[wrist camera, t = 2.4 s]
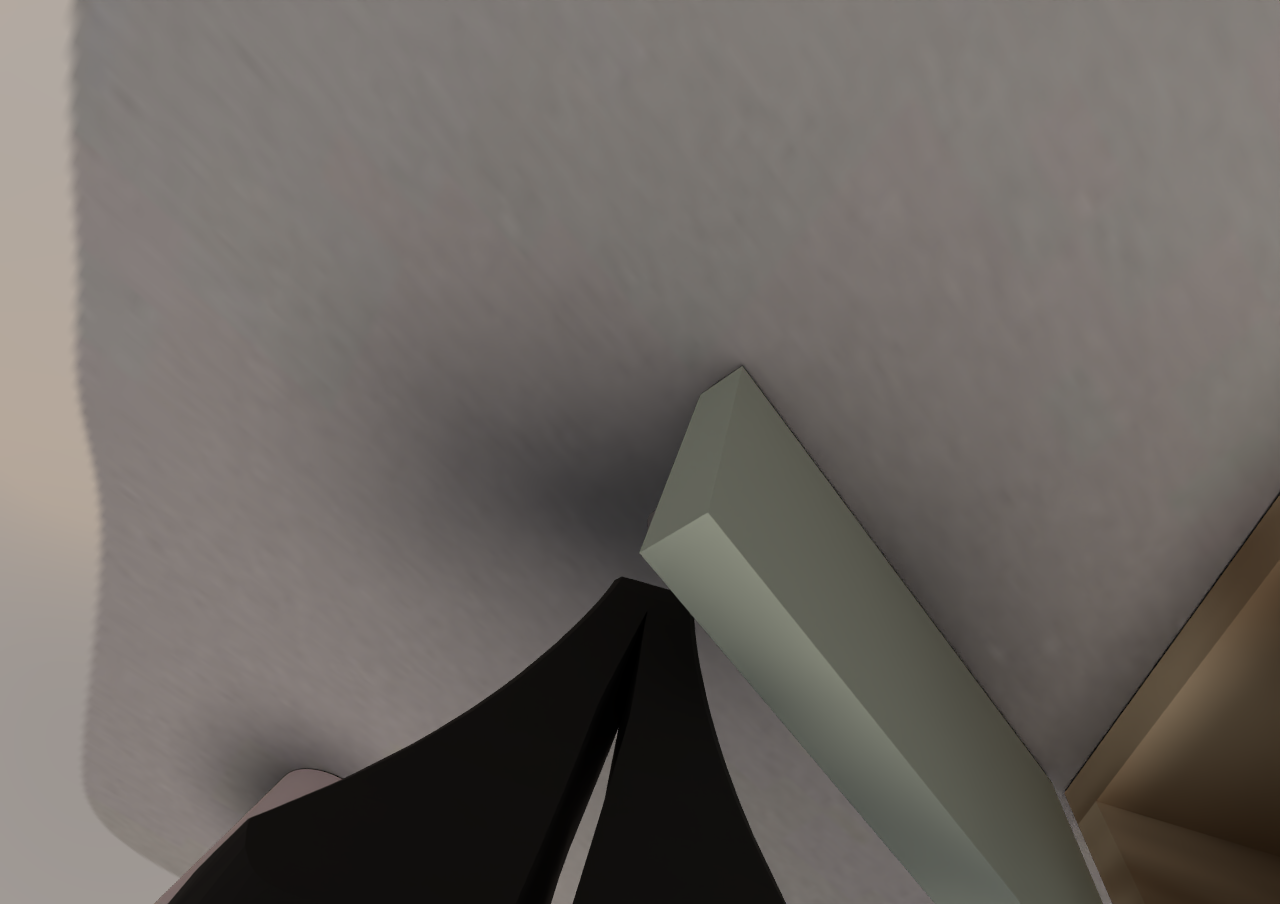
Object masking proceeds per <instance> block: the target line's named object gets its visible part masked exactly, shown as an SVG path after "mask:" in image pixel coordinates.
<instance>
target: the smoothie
mask: <svg viewBox="0 0 1280 904" xmlns="http://www.w3.org/2000/svg"><path fill="white" fill-rule="evenodd" d="M339 780H341V778H339V777H336V776H334V775H332V774H329V773H326V772H323V771H319V770H312V769H300V770H295V771H292V772H290V773H288V774H287V775H286V776H285V777H283V778H282V779H281V780H280V781H279V782H278V783H277V784H276V785H275V786H274V787H273V788H272V789H271V790H270V791H269V792H268V793H267V794H266V795H265V796H264V797H263V798H262V799H261V800H260V801H259V802H258V803H257V804H256V805H255V806H254V807H253V808H252V809H251V810H250V811H249V812H248V813H247V814H246V815H244V816H243V817H242V818H241V819H240V820H239V821H238V822H237V823H236V824H235V825H234V826H233V827H232V828H231V829H230V830H229V831H228V832H227V833H226V834H225V835H224V836H223V837H222V838H221V839H220V840H219V841H218V842H217V843H216V844H215V845H214V846H213V847H212V848H211V849H210V850H209V851H208V852H207V853H206V854H204V855H203V856H202V857H201V858H200V859H199V860H198V861H197V862H196V863H195V864H194V865H193V866H192V867H191V868H190V869H189V870H188V871H187V872H186V873H185V874H184V875H183V876H182V877H181V878H180V879H179V880H178V881H177V882H176V883H175V884H174V885H173V886H172V887H171V888H170V889H169V890H168V891H167V892H166V893H164V894H163V895H162V896H161V897H160V898H159V899H158V901H156V902H155V903H154V904H168V903H169V902H170V900H171V899H172V898H173V897H174V896H175V894H176V893H177V892H178V891H179V890H180V889H181V887H182V886H183V885H184V884H185V883H186V881H187V880H188V879H189V878H190V877H191V875H192V874H193V873H194V872H195V871H196V870H197V869H198V868H199V867H200V866H201V865H202V864H203V863H204V862H205V861H206V860H207V859H208V858H209V857H210V856H211V855H212V854H213V853H214V852H215V851H216V850H217V849H218V848H219V847H220V846H221V845H222V844H223V843H224V842H225V841H226V840H227V839H228V838H229V837H230V836H231V835H232V834H233V833H234V832H235V831H236V830H237V829H238V828H239V827H240V826H241V825H242V824H243V823H244V822H245V821H246V820H247V819H248V818H250V817H253V816H256V815H258V814H261V813H263V812H266V811H268V810H271V809H273V808H275V807H278V806H280V805H283V804H285V803H287V802H290V801H292V800H295V799H297V798H299V797H302V796H304V795H307V794H309V793H311V792H314V791H316V790H319V789H321V788H323V787H326V786H328V785H330V784H333V783H335V782H337V781H339Z"/></svg>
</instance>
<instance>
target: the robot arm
mask: <svg viewBox="0 0 1280 904" xmlns="http://www.w3.org/2000/svg"><path fill="white" fill-rule="evenodd" d="M618 728H619V729H618ZM617 730H618V734H617V739H616V744H615V749H614V754H613V759H612V764H611V770H610V775H609V780H608V785H607V790H606V795H605V800H604V804H603V807H602V810H601V814H600V817H599V820H598V823H597V827H596V830H595V833H594V836H593V840H592V843H591V846H590V849H589V853H588V856H587V859H586V862H585V866H584V869H583V872H582V875H581V879H580V882H579V885H578V888H577V891H576V895H575V898H574V901H573V904H786V902H785V900H784V898H783V896H782V894H781V892H780V890H779V888H778V886H777V884H776V881H775V879H774V877H773V875H772V873H771V871H770V869H769V867H768V865H767V863H766V861H765V858H764V856H763V854H762V852H761V850H760V848H759V846H758V844H757V842H756V840H755V837H754V835H753V833H752V831H751V828H750V826H749V823H748V821H747V818H746V816H745V814H744V811H743V809H742V806H741V804H740V801H739V799H738V796H737V794H736V791H735V788H734V786H733V783H732V780H731V777H730V775H729V772H728V769H727V766H726V763H725V760H724V757H723V754H722V751H721V748H720V745H719V742H718V738H717V735H716V731H715V728H714V724H713V721H712V717H711V713H710V709H709V705H708V701H707V697H706V693H705V688H704V683H703V678H702V674H701V669H700V664H699V658H698V651H697V644H696V636H695V623H694V617H693V616H692V615H691V614H690V612H689V611H688V610H687V609H686V608H685V606H684V605H683V604H682V603H681V602H680V601H679V599H678V598H677V597H676V596H675V595H674V593H673V592H672V591H671V590H667V589H664V588H660V587H657V586H653V585H650V584H647V583H643V582H640V581H636V580H633V579H629V578H626V577H621V578H618V579H616V580H615V581H614V582H613V584H612V585H611V586H610V588H609V589H608V590H607V591H606V593H605V594H604V595H603V596H602V597H601V599H600V600H599V601H598V602H597V603H596V604H595V605H594V606H593V607H592V609H591V610H590V611H589V612H588V613H587V614H586V615H585V616H584V617H583V618H582V619H581V620H580V621H579V622H578V623H577V624H576V625H575V626H574V627H573V628H572V629H571V630H569V631H568V632H567V633H566V634H565V635H564V636H563V637H562V638H561V639H560V640H559V641H558V642H557V643H556V644H555V645H553V646H552V647H551V648H550V649H549V650H548V651H546V652H545V653H544V654H543V655H542V656H540V657H539V658H538V659H537V660H536V661H534V662H533V663H532V664H531V665H530V666H528V667H527V668H526V669H525V670H524V671H522V672H521V673H520V674H519V675H517V676H516V677H515V678H513V679H512V680H511V681H509V682H508V683H507V684H505V685H504V686H503V687H501V688H500V689H499V690H497V691H496V692H494V693H493V694H492V695H490V696H489V697H487V698H486V699H484V700H483V701H481V702H480V703H479V704H477V705H476V706H474V707H473V708H471V709H470V710H468V711H466V712H465V713H463V714H462V715H460V716H458V717H457V718H455V719H454V720H452V721H450V722H449V723H447V724H445V725H444V726H442V727H441V728H439V729H437V730H436V731H434V732H432V733H431V734H429V735H427V736H425V737H424V738H422V739H420V740H418V741H417V742H415V743H413V744H411V745H409V746H408V747H406V748H404V749H402V750H400V751H398V752H396V753H394V754H392V755H390V756H388V757H386V758H384V759H382V760H380V761H378V762H376V763H374V764H372V765H370V766H368V767H366V768H364V769H362V770H360V771H358V772H356V773H354V774H352V775H350V776H348V777H346V778H344V779H341V780H339V781H337V782H335V783H333V784H330V785H328V786H326V787H323V788H321V789H319V790H316V791H314V792H311V793H309V794H307V795H304V796H302V797H299V798H297V799H295V800H292V801H290V802H287V803H285V804H283V805H280V806H278V807H275V808H273V809H271V810H268V811H266V812H263V813H261V814H258V815H256V816H253V817H250V818H248V819H247V820H246V821H245V822H244V823H243V824H242V825H241V826H240V827H239V828H238V829H237V830H236V831H235V832H234V833H233V834H232V835H231V836H230V837H229V838H228V839H227V840H226V841H225V842H224V843H223V844H222V845H221V846H220V847H219V848H218V849H217V850H216V851H215V852H214V853H213V854H212V855H211V856H210V857H209V858H208V859H207V860H206V861H205V862H204V863H203V864H202V865H201V866H200V867H199V868H198V869H197V870H196V871H195V872H194V873H193V874H192V875H191V877H190V878H189V879H188V880H187V881H186V883H185V884H184V885H183V886H182V887H181V889H180V890H179V891H178V892H177V893H176V894H175V896H174V897H173V898H172V899H171V900H170V902H169V903H168V904H551V902H552V898H553V895H554V892H555V889H556V886H557V882H558V879H559V876H560V873H561V871H562V868H563V865H564V862H565V860H566V857H567V854H568V851H569V849H570V846H571V844H572V841H573V839H574V836H575V834H576V831H577V829H578V826H579V824H580V821H581V819H582V816H583V814H584V812H585V809H586V807H587V804H588V802H589V799H590V797H591V794H592V792H593V789H594V787H595V785H596V782H597V780H598V777H599V775H600V772H601V770H602V767H603V765H604V762H605V760H606V757H607V755H608V752H609V750H610V748H611V745H612V743H613V740H614V738H615V735H616V733H617Z"/></svg>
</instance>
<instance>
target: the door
mask: <svg viewBox="0 0 1280 904" xmlns="http://www.w3.org/2000/svg"><path fill="white" fill-rule="evenodd" d="M647 522H648V532H647V534H646V537H645V540H644V542H643V545H642V547H641V550H640V552H639V553H640V554H641V555H642V557H643V558H644V559H645V560H646V561H647V563H648V564H649V565H650V566H651V567H652V568H653V570H654V571H655V572H656V573H657V574H658V576H659V577H660V578H661V579H662V580H663V582H664V583H665V584H666V585H667V586H668V587H669V589H670V590H671V591H672V592H673V593H674V595H675V596H676V597H677V598H678V599H679V601H680V602H681V603H682V604H683V605H684V606H685V608H686V609H687V610H688V611H689V612H690V614H691V615H692V616H693V617H694V618H695V619H696V621H697V622H698V623H699V624H700V625H701V627H702V628H703V629H704V630H705V631H706V633H707V634H708V635H709V636H710V637H711V638H712V640H713V641H714V642H715V643H716V644H717V646H718V647H719V648H720V649H721V650H722V652H723V653H724V654H725V655H726V656H727V657H728V659H729V660H730V661H731V662H732V663H733V665H734V666H735V667H736V668H737V669H738V670H739V672H740V673H741V674H742V675H743V676H744V678H745V679H746V680H747V681H748V682H749V684H750V685H751V686H752V687H753V688H754V689H755V691H756V692H757V693H758V694H759V695H760V697H761V698H762V699H763V700H764V701H765V703H766V704H767V705H768V706H769V707H770V708H771V710H772V711H773V712H774V713H775V714H776V716H777V717H778V718H779V719H780V720H781V721H782V723H783V724H784V725H785V726H786V727H787V729H788V730H789V731H790V732H791V733H792V735H793V736H794V737H795V738H796V739H797V740H798V742H799V743H800V744H801V745H802V746H803V748H804V749H805V750H806V751H807V752H808V754H809V755H810V756H811V757H812V758H813V759H814V761H815V762H816V763H817V764H818V765H819V767H820V768H821V769H822V770H823V771H824V772H825V774H826V775H827V776H828V777H829V778H830V780H831V781H832V782H833V783H834V784H835V786H836V787H837V788H838V789H839V790H840V791H841V793H842V794H843V795H844V796H845V797H846V799H847V800H848V801H849V802H850V803H851V805H852V806H853V807H854V808H855V809H856V810H857V812H858V813H859V814H860V815H861V816H862V818H863V819H864V820H865V821H866V822H867V824H868V825H869V826H870V827H871V828H872V829H873V831H874V832H875V833H876V834H877V835H878V837H879V838H880V839H881V840H882V841H883V842H884V844H885V845H886V846H887V847H888V848H889V850H890V851H891V852H892V853H893V854H894V856H895V857H896V858H897V859H898V860H899V861H900V863H901V864H902V865H903V866H904V867H905V869H906V870H907V871H908V872H909V873H910V875H911V876H912V877H913V878H914V879H915V880H916V882H917V883H918V884H919V885H920V886H921V888H922V889H923V890H924V891H925V892H926V893H927V895H928V896H929V897H930V898H931V899H932V901H933V902H934V903H935V904H1103V903H1102V901H1101V898H1100V896H1099V893H1098V891H1097V889H1096V886H1095V884H1094V882H1093V879H1092V877H1091V874H1090V872H1089V870H1088V867H1087V865H1086V863H1085V860H1084V858H1083V856H1082V853H1081V851H1080V848H1079V846H1078V844H1077V841H1076V839H1075V837H1074V834H1073V832H1072V830H1071V827H1070V825H1069V822H1068V820H1067V818H1066V815H1065V813H1064V811H1063V808H1062V806H1061V804H1060V801H1059V799H1058V796H1057V794H1056V792H1055V789H1054V787H1053V785H1052V782H1051V781H1050V780H1049V778H1048V777H1047V776H1046V774H1045V773H1044V772H1043V770H1042V769H1041V768H1040V766H1039V765H1038V763H1037V762H1036V761H1035V759H1034V758H1033V757H1032V755H1031V754H1030V753H1029V751H1028V750H1027V749H1026V747H1025V746H1024V745H1023V743H1022V742H1021V741H1020V739H1019V738H1018V737H1017V735H1016V734H1015V733H1014V731H1013V730H1012V728H1011V727H1010V726H1009V724H1008V723H1007V722H1006V720H1005V719H1004V718H1003V716H1002V715H1001V714H1000V712H999V711H998V710H997V708H996V707H995V706H994V704H993V703H992V702H991V700H990V699H989V698H988V696H987V695H986V693H985V692H984V691H983V689H982V688H981V687H980V685H979V684H978V683H977V681H976V680H975V679H974V677H973V676H972V675H971V673H970V672H969V671H968V669H967V668H966V667H965V665H964V664H963V662H962V661H961V660H960V658H959V657H958V656H957V654H956V653H955V652H954V650H953V649H952V648H951V646H950V645H949V644H948V642H947V641H946V640H945V638H944V637H943V636H942V634H941V633H940V632H939V630H938V629H937V627H936V626H935V625H934V623H933V622H932V621H931V619H930V618H929V617H928V615H927V614H926V613H925V611H924V610H923V609H922V607H921V606H920V605H919V603H918V602H917V601H916V599H915V598H914V597H913V595H912V594H911V592H910V591H909V590H908V588H907V587H906V586H905V584H904V583H903V582H902V580H901V579H900V578H899V576H898V575H897V574H896V572H895V571H894V570H893V568H892V567H891V566H890V564H889V563H888V561H887V560H886V559H885V557H884V556H883V555H882V553H881V552H880V551H879V549H878V548H877V547H876V545H875V544H874V543H873V541H872V540H871V539H870V537H869V536H868V535H867V533H866V532H865V531H864V529H863V528H862V526H861V525H860V524H859V522H858V521H857V520H856V518H855V517H854V516H853V514H852V513H851V512H850V510H849V509H848V508H847V506H846V505H845V504H844V502H843V501H842V500H841V498H840V497H839V496H838V494H837V493H836V491H835V490H834V489H833V487H832V486H831V485H830V483H829V482H828V481H827V479H826V478H825V477H824V475H823V474H822V473H821V471H820V470H819V469H818V467H817V466H816V465H815V463H814V462H813V461H812V459H811V458H810V456H809V455H808V454H807V452H806V451H805V450H804V448H803V447H802V446H801V444H800V443H799V442H798V440H797V439H796V438H795V436H794V435H793V434H792V432H791V431H790V430H789V428H788V427H787V425H786V424H785V423H784V421H783V420H782V419H781V417H780V416H779V415H778V413H777V412H776V411H775V409H774V408H773V407H772V405H771V404H770V403H769V401H768V400H767V399H766V397H765V396H764V395H763V393H762V392H761V390H760V389H759V388H758V386H757V385H756V384H755V382H754V381H753V380H752V378H751V377H750V376H749V374H748V373H747V372H746V370H745V369H744V368H743V366H742V367H740V368H739V369H737V370H736V371H734V372H733V373H731V374H730V375H728V376H727V377H725V378H724V379H723V380H721V381H720V382H718V383H717V384H715V385H714V386H712V387H711V388H709V389H708V390H707V391H705V392H704V393H702V394H701V395H700V397H699V400H698V402H697V405H696V408H695V410H694V413H693V415H692V418H691V420H690V423H689V426H688V428H687V431H686V433H685V436H684V439H683V441H682V444H681V446H680V449H679V452H678V454H677V457H676V459H675V462H674V464H673V467H672V470H671V472H670V475H669V477H668V480H667V483H666V485H665V488H664V490H663V493H662V496H661V498H660V501H659V503H658V506H657V508H656V511H654V512H652V513H651V514H650V515H649V517H648V521H647Z"/></svg>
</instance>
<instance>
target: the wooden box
mask: <svg viewBox="0 0 1280 904" xmlns="http://www.w3.org/2000/svg"><path fill="white" fill-rule="evenodd" d="M1065 796H1066V798H1067V800H1068V803H1069V805H1070V807H1071V810H1072V812H1073V814H1074V816H1075V819H1076V821H1077V823H1078V826H1079V828H1080V830H1081V832H1082V835H1083V837H1084V839H1085V842H1086V844H1087V846H1088V849H1089V851H1090V853H1091V855H1092V858H1093V860H1094V862H1095V865H1096V867H1097V869H1098V871H1099V874H1100V876H1101V878H1102V881H1103V883H1104V885H1105V888H1106V890H1107V892H1108V894H1109V897H1110V899H1111V901H1112V904H1280V495H1279V497H1278V498H1277V499H1276V501H1275V502H1274V503H1273V505H1272V506H1271V508H1270V509H1269V510H1268V512H1267V513H1266V515H1265V516H1264V517H1263V519H1262V520H1261V521H1260V523H1259V524H1258V526H1257V527H1256V528H1255V530H1254V531H1253V533H1252V534H1251V535H1250V537H1249V538H1248V539H1247V541H1246V542H1245V544H1244V545H1243V546H1242V548H1241V549H1240V551H1239V552H1238V553H1237V555H1236V556H1235V557H1234V559H1233V560H1232V562H1231V563H1230V564H1229V566H1228V567H1227V569H1226V570H1225V571H1224V573H1223V574H1222V575H1221V577H1220V578H1219V580H1218V581H1217V582H1216V584H1215V585H1214V587H1213V588H1212V589H1211V591H1210V592H1209V593H1208V595H1207V596H1206V598H1205V599H1204V600H1203V602H1202V603H1201V605H1200V606H1199V607H1198V609H1197V610H1196V611H1195V613H1194V614H1193V616H1192V617H1191V618H1190V620H1189V621H1188V623H1187V624H1186V625H1185V627H1184V628H1183V629H1182V631H1181V632H1180V634H1179V635H1178V636H1177V638H1176V639H1175V641H1174V642H1173V643H1172V645H1171V646H1170V648H1169V649H1168V650H1167V652H1166V653H1165V654H1164V656H1163V657H1162V659H1161V660H1160V661H1159V663H1158V664H1157V666H1156V667H1155V668H1154V670H1153V671H1152V672H1151V674H1150V675H1149V677H1148V678H1147V679H1146V681H1145V682H1144V684H1143V685H1142V686H1141V688H1140V689H1139V690H1138V692H1137V693H1136V695H1135V696H1134V697H1133V699H1132V700H1131V702H1130V703H1129V704H1128V706H1127V707H1126V708H1125V710H1124V711H1123V713H1122V714H1121V715H1120V717H1119V718H1118V720H1117V721H1116V722H1115V724H1114V725H1113V726H1112V728H1111V729H1110V731H1109V732H1108V733H1107V735H1106V736H1105V738H1104V739H1103V740H1102V742H1101V743H1100V744H1099V746H1098V747H1097V749H1096V750H1095V751H1094V753H1093V754H1092V756H1091V757H1090V758H1089V760H1088V761H1087V762H1086V764H1085V765H1084V767H1083V768H1082V769H1081V771H1080V772H1079V774H1078V775H1077V776H1076V778H1075V779H1074V780H1073V782H1072V783H1071V785H1070V786H1069V787H1068V789H1067V790H1066V792H1065Z"/></svg>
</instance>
